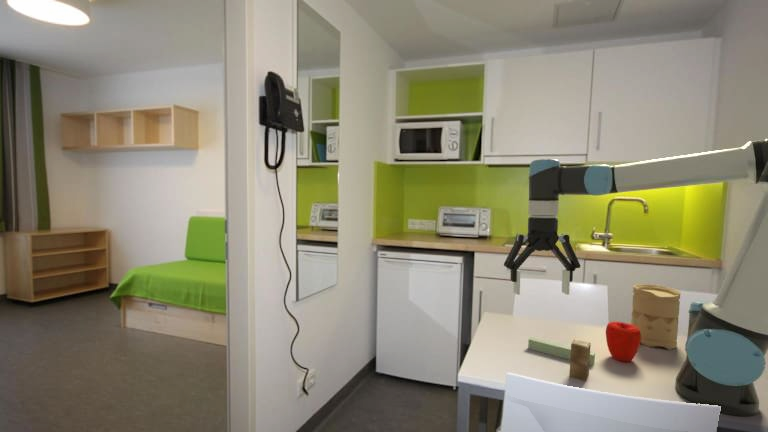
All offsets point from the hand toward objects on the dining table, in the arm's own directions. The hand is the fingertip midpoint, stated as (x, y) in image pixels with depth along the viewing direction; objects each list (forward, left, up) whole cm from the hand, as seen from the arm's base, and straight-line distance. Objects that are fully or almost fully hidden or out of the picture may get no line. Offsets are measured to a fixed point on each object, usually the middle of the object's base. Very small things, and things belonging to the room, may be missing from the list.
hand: (541, 293), depth 103 cm
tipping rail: (-3, -13, -21) cm, 25 cm away
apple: (-18, -22, -21) cm, 36 cm away
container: (-25, -44, -21) cm, 55 cm away
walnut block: (-10, -2, -21) cm, 24 cm away
